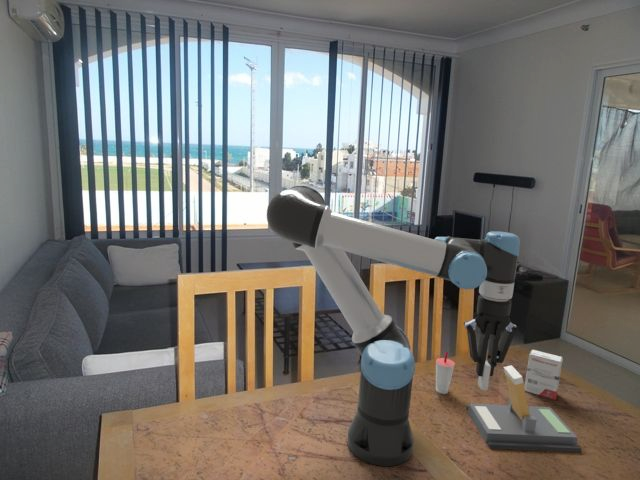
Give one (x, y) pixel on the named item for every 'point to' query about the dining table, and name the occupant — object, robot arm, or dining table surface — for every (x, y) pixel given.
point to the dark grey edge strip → (534, 446)
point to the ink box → (543, 374)
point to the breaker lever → (516, 392)
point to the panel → (520, 425)
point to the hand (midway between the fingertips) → (482, 387)
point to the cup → (443, 374)
